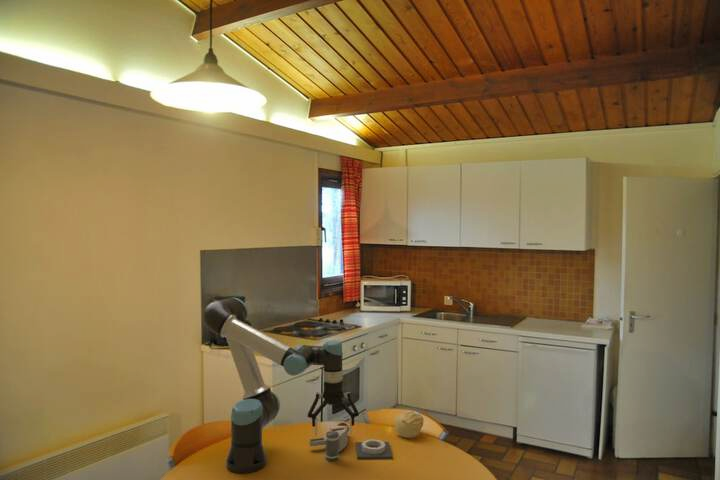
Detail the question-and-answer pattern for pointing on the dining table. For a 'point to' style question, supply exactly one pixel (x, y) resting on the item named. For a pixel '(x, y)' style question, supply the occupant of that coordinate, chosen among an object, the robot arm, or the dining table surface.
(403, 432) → the cream crumpled ball
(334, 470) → the dining table surface
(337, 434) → the lens
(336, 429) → the film camera
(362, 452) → the mount
